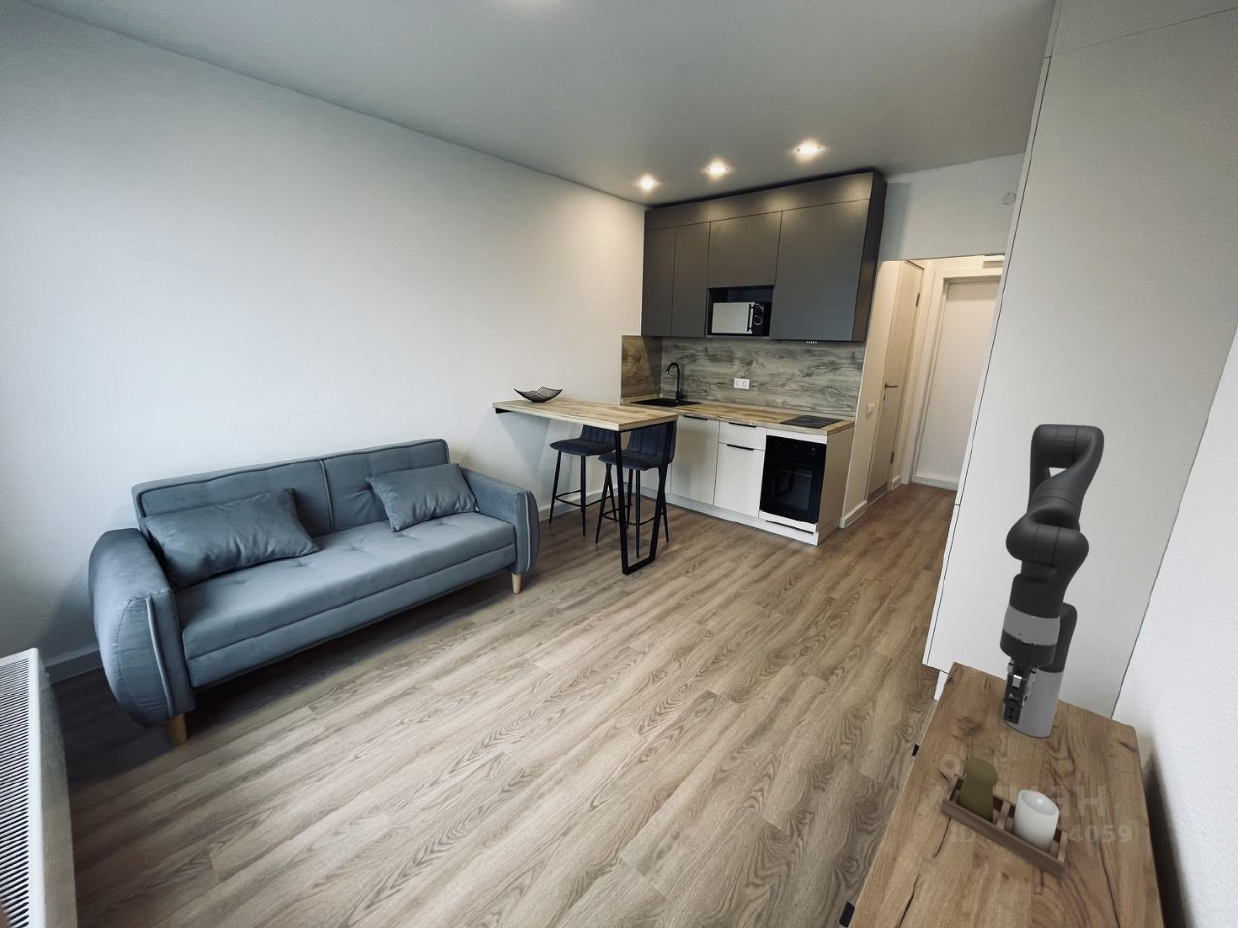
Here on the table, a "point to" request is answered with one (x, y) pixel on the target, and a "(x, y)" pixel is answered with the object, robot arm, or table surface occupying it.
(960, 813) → the caddy
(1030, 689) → the robot arm
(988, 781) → the pepper shaker
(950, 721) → the table surface
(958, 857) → the table surface
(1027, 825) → the salt shaker
